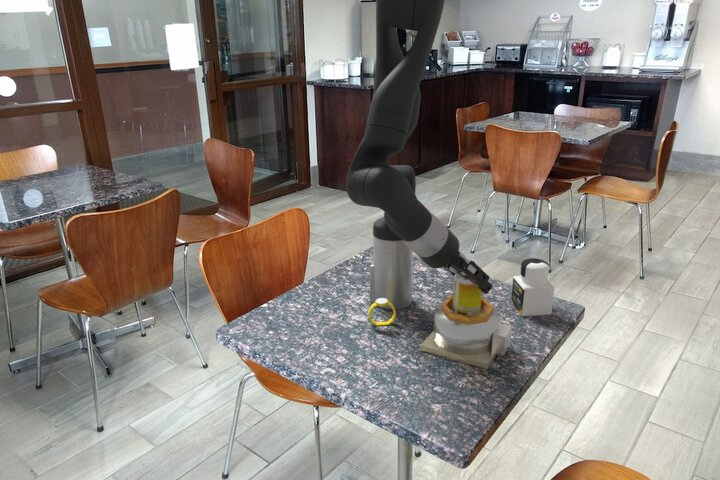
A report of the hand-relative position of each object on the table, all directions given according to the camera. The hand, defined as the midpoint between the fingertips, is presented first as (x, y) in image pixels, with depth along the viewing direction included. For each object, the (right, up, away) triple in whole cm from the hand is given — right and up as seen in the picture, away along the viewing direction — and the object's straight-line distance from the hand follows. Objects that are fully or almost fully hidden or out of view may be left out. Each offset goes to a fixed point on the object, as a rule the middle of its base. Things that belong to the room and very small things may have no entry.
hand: (473, 282), depth 110 cm
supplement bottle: (-1, -6, +2) cm, 7 cm away
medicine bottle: (+17, -8, +18) cm, 26 cm away
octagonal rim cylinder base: (-1, -13, +4) cm, 14 cm away
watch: (-18, -10, +12) cm, 24 cm away
